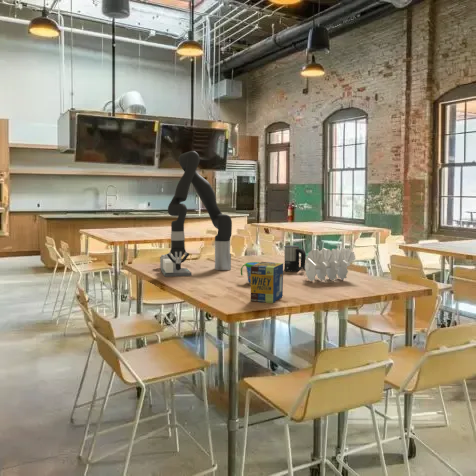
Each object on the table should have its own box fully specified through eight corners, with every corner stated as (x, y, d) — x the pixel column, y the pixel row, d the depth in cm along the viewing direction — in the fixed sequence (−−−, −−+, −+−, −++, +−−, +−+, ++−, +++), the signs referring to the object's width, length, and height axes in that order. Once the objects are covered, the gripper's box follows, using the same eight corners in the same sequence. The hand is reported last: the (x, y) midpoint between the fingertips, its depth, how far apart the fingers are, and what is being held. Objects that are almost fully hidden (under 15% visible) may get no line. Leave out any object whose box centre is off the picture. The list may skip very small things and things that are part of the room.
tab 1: (169, 268, 309) (169, 258, 309) (170, 269, 305) (170, 259, 305) (163, 268, 308) (162, 259, 308) (163, 269, 304) (163, 259, 304)
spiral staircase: (303, 287, 281) (344, 282, 289) (317, 278, 265) (360, 273, 274) (295, 255, 287) (336, 251, 295) (308, 244, 271) (351, 240, 279)
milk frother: (281, 271, 312) (281, 246, 311) (289, 267, 327) (289, 243, 325) (305, 272, 307) (305, 247, 305) (311, 268, 321) (312, 244, 320)
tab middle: (171, 269, 303) (171, 260, 303) (172, 270, 299) (171, 261, 299) (164, 269, 302) (164, 260, 302) (164, 271, 298) (164, 261, 298)
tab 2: (172, 271, 297) (172, 261, 296) (173, 272, 293) (173, 262, 292) (165, 271, 296) (165, 262, 295) (165, 272, 292) (165, 263, 291)
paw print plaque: (162, 270, 313) (162, 256, 313) (158, 267, 326) (158, 253, 325) (179, 269, 317) (179, 255, 316) (175, 266, 329) (175, 253, 328)
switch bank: (186, 270, 313) (186, 267, 313) (191, 275, 294) (191, 272, 294) (161, 271, 309) (161, 268, 309) (164, 276, 291) (164, 273, 291)
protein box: (250, 301, 228) (250, 266, 227) (261, 294, 242) (261, 261, 241) (273, 303, 224) (273, 267, 223) (283, 296, 239) (283, 262, 237)
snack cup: (272, 281, 276) (272, 262, 275) (267, 285, 266) (267, 265, 265) (244, 280, 281) (244, 261, 280) (238, 283, 271) (238, 264, 270)
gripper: (188, 238, 299) (188, 268, 300) (165, 238, 296) (165, 269, 297) (190, 239, 292) (190, 270, 293) (166, 240, 288) (167, 271, 290)
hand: (178, 270), depth 295 cm, fingers closed
